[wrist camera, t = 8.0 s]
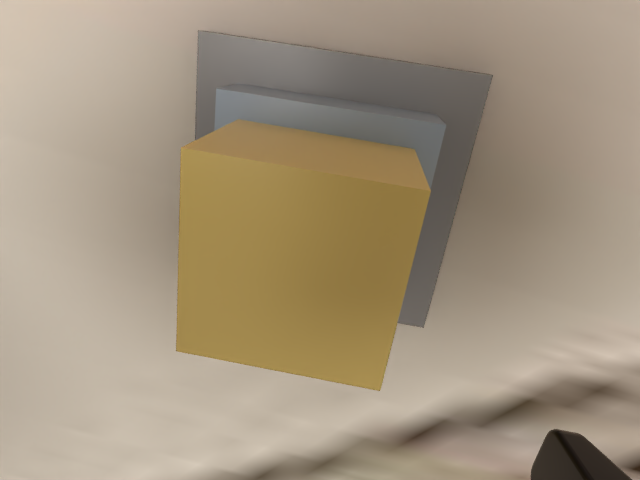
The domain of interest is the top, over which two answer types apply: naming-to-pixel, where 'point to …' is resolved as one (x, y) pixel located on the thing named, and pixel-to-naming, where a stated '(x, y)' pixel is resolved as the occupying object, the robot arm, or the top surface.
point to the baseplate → (364, 85)
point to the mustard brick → (296, 249)
